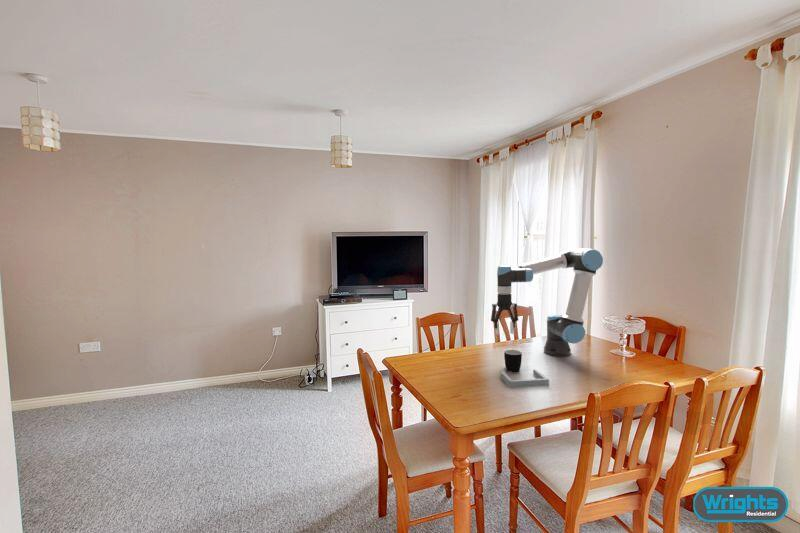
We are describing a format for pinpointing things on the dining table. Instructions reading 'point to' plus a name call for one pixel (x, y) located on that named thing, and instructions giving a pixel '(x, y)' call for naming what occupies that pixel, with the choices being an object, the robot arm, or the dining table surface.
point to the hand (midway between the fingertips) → (504, 333)
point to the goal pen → (539, 381)
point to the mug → (513, 360)
